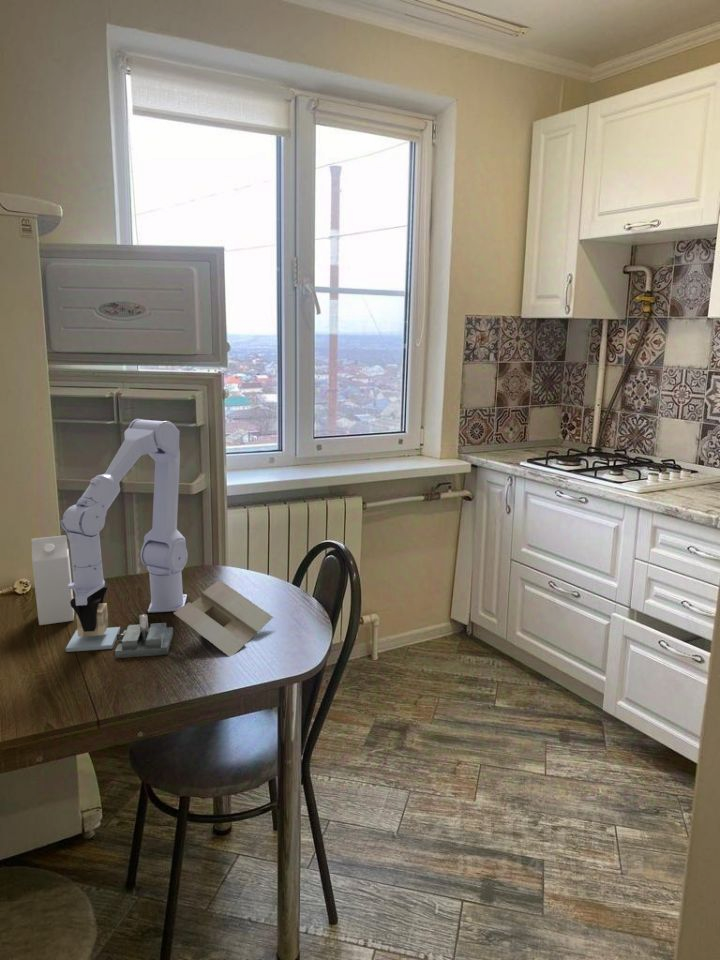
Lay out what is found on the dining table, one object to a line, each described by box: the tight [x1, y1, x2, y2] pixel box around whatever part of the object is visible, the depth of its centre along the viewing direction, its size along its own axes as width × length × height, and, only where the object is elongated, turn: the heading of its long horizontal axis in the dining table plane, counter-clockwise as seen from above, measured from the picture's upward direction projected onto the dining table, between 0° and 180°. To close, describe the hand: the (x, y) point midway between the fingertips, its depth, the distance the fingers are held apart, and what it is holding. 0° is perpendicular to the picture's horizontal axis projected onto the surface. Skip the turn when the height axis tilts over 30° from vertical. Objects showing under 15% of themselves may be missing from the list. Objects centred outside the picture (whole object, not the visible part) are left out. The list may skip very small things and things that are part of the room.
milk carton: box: [30, 535, 75, 626], centre depth 157 cm, size 7×7×19 cm
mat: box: [65, 626, 121, 653], centre depth 147 cm, size 9×9×1 cm
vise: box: [114, 613, 174, 659], centre depth 144 cm, size 10×10×6 cm
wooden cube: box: [75, 602, 109, 636], centre depth 146 cm, size 5×5×5 cm
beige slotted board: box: [173, 579, 274, 658], centre depth 149 cm, size 16×9×15 cm
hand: (92, 625), depth 146 cm, fingers closed on wooden cube, 5 cm apart
